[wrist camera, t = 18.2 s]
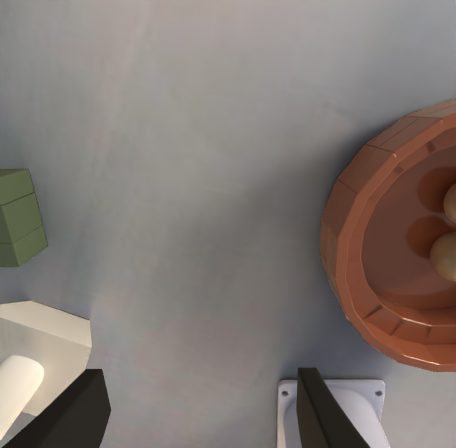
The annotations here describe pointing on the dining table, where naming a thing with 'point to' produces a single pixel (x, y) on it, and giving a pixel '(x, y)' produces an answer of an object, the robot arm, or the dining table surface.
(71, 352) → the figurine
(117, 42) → the dining table surface
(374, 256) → the bowl
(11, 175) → the holder
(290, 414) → the robot arm
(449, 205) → the bead
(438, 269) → the bead
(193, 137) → the dining table surface
